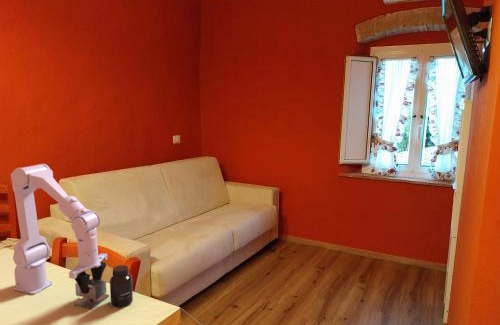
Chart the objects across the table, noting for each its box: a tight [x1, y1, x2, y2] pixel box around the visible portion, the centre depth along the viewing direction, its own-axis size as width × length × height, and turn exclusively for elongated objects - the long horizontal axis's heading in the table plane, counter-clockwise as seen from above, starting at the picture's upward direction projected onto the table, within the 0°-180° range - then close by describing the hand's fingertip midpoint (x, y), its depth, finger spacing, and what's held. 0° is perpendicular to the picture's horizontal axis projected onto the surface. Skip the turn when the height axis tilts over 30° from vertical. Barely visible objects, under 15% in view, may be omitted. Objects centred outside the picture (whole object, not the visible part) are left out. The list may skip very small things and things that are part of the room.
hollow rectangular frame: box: [74, 277, 108, 300], centre depth 114 cm, size 8×5×4 cm, turn 72°
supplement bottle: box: [109, 264, 134, 309], centre depth 113 cm, size 7×7×12 cm
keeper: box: [73, 293, 110, 310], centre depth 114 cm, size 7×8×5 cm
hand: (90, 288), depth 114 cm, fingers closed on hollow rectangular frame, 5 cm apart
